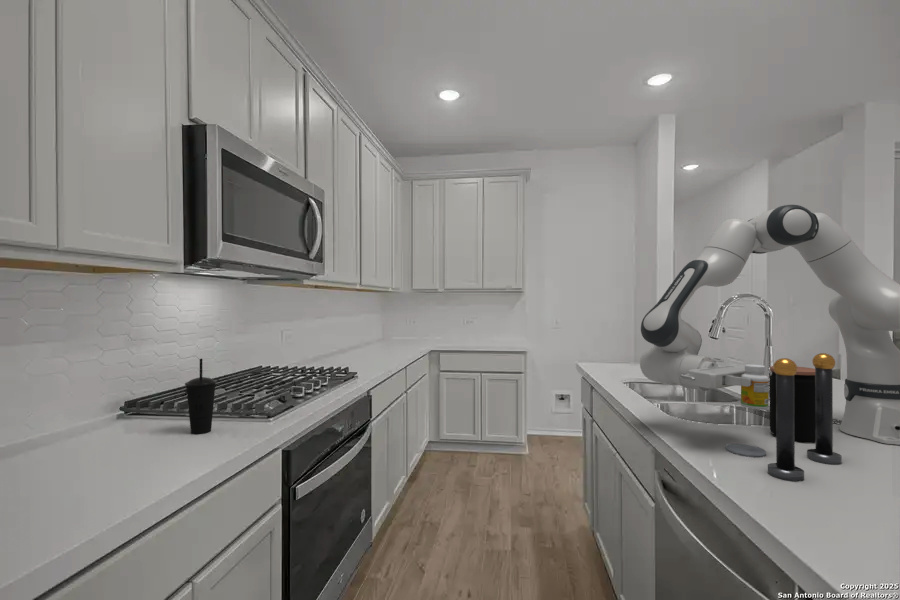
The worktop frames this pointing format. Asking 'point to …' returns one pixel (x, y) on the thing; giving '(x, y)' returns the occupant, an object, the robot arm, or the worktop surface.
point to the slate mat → (746, 450)
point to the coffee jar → (798, 404)
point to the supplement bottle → (755, 388)
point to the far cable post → (824, 412)
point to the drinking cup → (200, 403)
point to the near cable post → (785, 423)
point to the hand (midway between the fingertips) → (758, 381)
